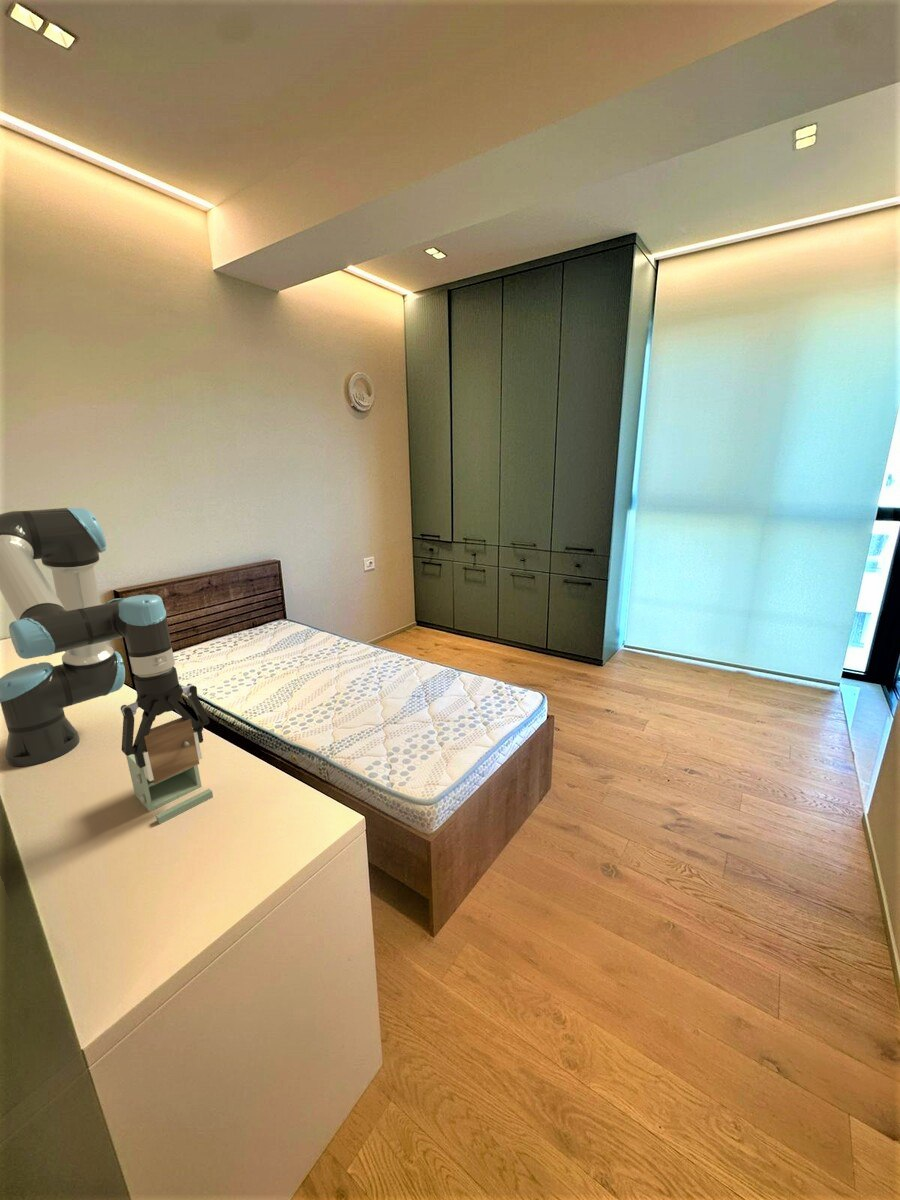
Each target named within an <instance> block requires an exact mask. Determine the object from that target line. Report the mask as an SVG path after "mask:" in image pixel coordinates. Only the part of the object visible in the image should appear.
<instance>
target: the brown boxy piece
mask: <svg viewBox="0 0 900 1200" xmlns="http://www.w3.org/2000/svg"><path fill="white" fill-rule="evenodd" d="M144 738H145V743H146V744H145V747H144V749H145V750H146V751H147V752H148V755H149V760H150V764H151V769H152V774H153V778H154V780H152V782H153V783H154V784H155V783H158V782H160V781H162V780H164V779H167V778H169V777H171V776H173V775H175V774H178V773H180V772H182V771H184V770H187V769H189V768H191V767H193V766H195V765H198V766H199V765H200V759H199V760H198V754H197V749H196V744H195V739H194V733H193V727H192V722H191V719H189V720H185V719H184V718H183V717H182V716H181V717H179V718H177V719H173V720H171V721H167V722H165V723H161V724H160V725H157V726H154V727H151V729H150V732H149V735H147V736H144Z"/></svg>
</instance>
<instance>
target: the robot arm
mask: <svg viewBox="0 0 900 1200" xmlns="http://www.w3.org/2000/svg"><path fill="white" fill-rule="evenodd" d="M106 551H107V541H106V537H105V534H104V531H103V529H102V526H101V524H100V523H99V521H98V519H97V518H96V516H95V514H93V512H92V511H90V510H89V509H87V508H83V507H79V508H75V507H63V508H47V509H33V510H32V509H31V510H13V511H12V510H11V511H7V512H4V513H3V512H2V513H1V514H0V592H1V594H2V596H3V598H4V600H5V602H6V603H7V605H8V607H9V609H10V610H11V613H12V615H13V616H14V618H15V619H16V620H15V621H12V622H10V623H9V624H8V625H9V626H8V630H9V636H10V639H11V643H12V645H13V647H14V651H15V652H16V654H17V656H18V657H19V658H21V659H24V660H26V659H27V660H29V659H34V658H39V657H47V656H48V657H49V656H52V655H54V654H58V653H63V652H64V653H63V655H62V656H61V662H62V664H58V665H53V664H52V663H50V662H47V661H44V662H38V663H32V664H28V665H24V666H21V667H18V668H16V669H13V670H11V671H10V672H8V673H6V674H4V675H2V676H1V677H0V707H1V711H2V715H3V717H4V722H5V725H6V729H7V732H8V736H7V741H6V748H5V758H6V762H7V764H8V765H9V764H10V766H12V765H13V767H27V766H33V765H37V764H42V763H46V762H48V761H52V760H55V759H57V758H59V757H61V756H63V755H65V754H67V753H69V752H70V751H72V750H73V749H74V748H76V747H77V745H79V743H80V742H81V741H80V740H81V739H80V736H79V732H78V730H77V729H75V727H74V726H73V724H72V723H71V721H69V720H68V718H67V717H66V715H65V710H64V708H67V707H70V706H73V705H77V704H80V703H83V702H87V701H89V700H93V699H96V698H97V699H98V698H99V697H106V696H107V695H109V694H111V693H115V692H117V691H119V690H121V688H122V687H123V686H124V684H125V680H126V668H125V665H124V658H123V657H122V655H121V654H120V653H119V652H118V651H116V650H114V648H113V647H112V646H111V645H108V644H107V641H111V640H112V641H113V640H117V639H121V638H124V640H125V644H126V648H127V654H128V659H129V662H130V668H131V672H132V674H134V676H133V682H134V685H135V686H134V687H135V691H136V696H137V697H136V700H135V702H133V703H130V704H128V705H126V704H123V705H121V706H120V711H121V714H122V716H123V719H122V721H123V722H122V734H121V752H122V753H124V755H125V756H126V755H127V756H129V755H131V754H134V756H135V760H136V764H137V765H138V766H139V767H140V768H142V767H143V769H144V773H145V777H146V778H147V779H148V780H149V781H152V780H154V778H153V774H152V769H151V764H150V760H149V755H148V752H147V751H146V750H145V749H144V747H145V744H146V743H145V738H144V736H147V735H149V732H150V729H151V728H152V726H153V722H155V719H156V717H157V716H161V715H163V714H164V713H168V712H172V711H173V710H175V712H176V713H177V714H179V716H181V717H183V718H184V719H185V720H189V719H191V722H192V727H193V733H194V739H195V744H196V749H197V754H198V760H199V761H200V760H201V759H202V758H203V757H202V750H201V746H200V744H201V743H203V742H204V736H203V730H204V727H205V726H208V725H209V724H210V719H209V717H208V715H207V713H206V711H205V709H204V707H203V705H202V702H201V700H200V698H199V697H198V688H197V686H195V685H193V684H192V683H188V684H187V685H185V686H180V683H179V682H180V681H179V677H178V671H177V668H176V667H175V665H176V661H175V658H174V657H175V656H174V652H173V648H172V647H173V646H172V641H171V637H170V636H171V635H170V631H169V630H170V629H169V624H168V619H167V610H166V608H165V605H164V602H163V599H162V597H161V596H159V595H157V594H139V595H132V596H128V597H124V598H123V597H122V598H121V597H120V598H113V599H111V600H109V601H107V602H106V603H104V604H100V599H99V591H98V587H97V580H96V573H95V566H96V565H97V564H98V563H99V561H100V555H99V553H103V552H106ZM40 559H41V562H42V565H43V566H45V567H46V568H47V569H50V570H51V574H52V578H53V583H54V589H55V591H54V589H53V588H52V586H51V585H50V583H49V581H48V580H47V578H46V577H45V575H44V574H43V572H42V570H41V569H40V567H39V566H38V564H37V563H36V561H35V560H40ZM182 694H184V695H185V696H187V699H188V700H189V703H190V704H191V707H192V709H193V710H194V712H195V714H196V716H197V718H198V720H196V719H195V718H194V717H193V716H192V715H191V714H190V713H189V712H188V711H187V710H186V709H185V708H184V707H183V705H181V703H180V702H179V700H180V698H181V697H182ZM138 708H140V709H141V710H143V712H142V714H141V715H142V717H141V722H140V724H139V727H138V730H137V733H136V736H135V739H134V732H135V731H134V729H135V716H134V715H136V714H137V709H138Z"/></svg>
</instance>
